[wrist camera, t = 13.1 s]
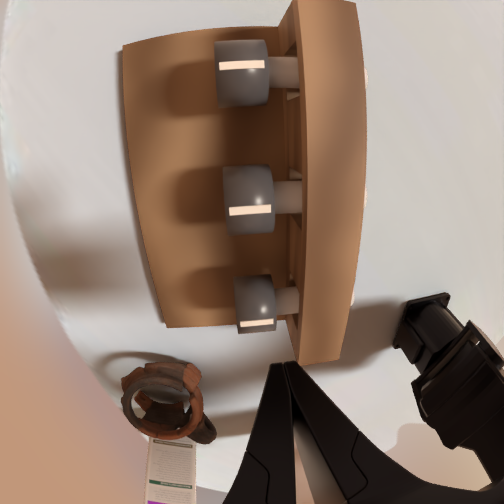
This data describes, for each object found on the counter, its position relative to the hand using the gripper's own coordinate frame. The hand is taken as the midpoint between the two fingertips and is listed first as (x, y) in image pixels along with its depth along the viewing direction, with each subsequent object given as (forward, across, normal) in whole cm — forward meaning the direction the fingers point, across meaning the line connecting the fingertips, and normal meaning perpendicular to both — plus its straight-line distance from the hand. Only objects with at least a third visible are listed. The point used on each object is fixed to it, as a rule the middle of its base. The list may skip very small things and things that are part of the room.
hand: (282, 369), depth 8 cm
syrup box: (+12, +12, +26) cm, 31 cm away
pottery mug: (+13, +10, +17) cm, 23 cm away
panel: (+12, +1, -3) cm, 13 cm away
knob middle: (+11, -2, -3) cm, 11 cm away
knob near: (+11, -3, -10) cm, 15 cm away
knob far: (+11, -2, +4) cm, 12 cm away
